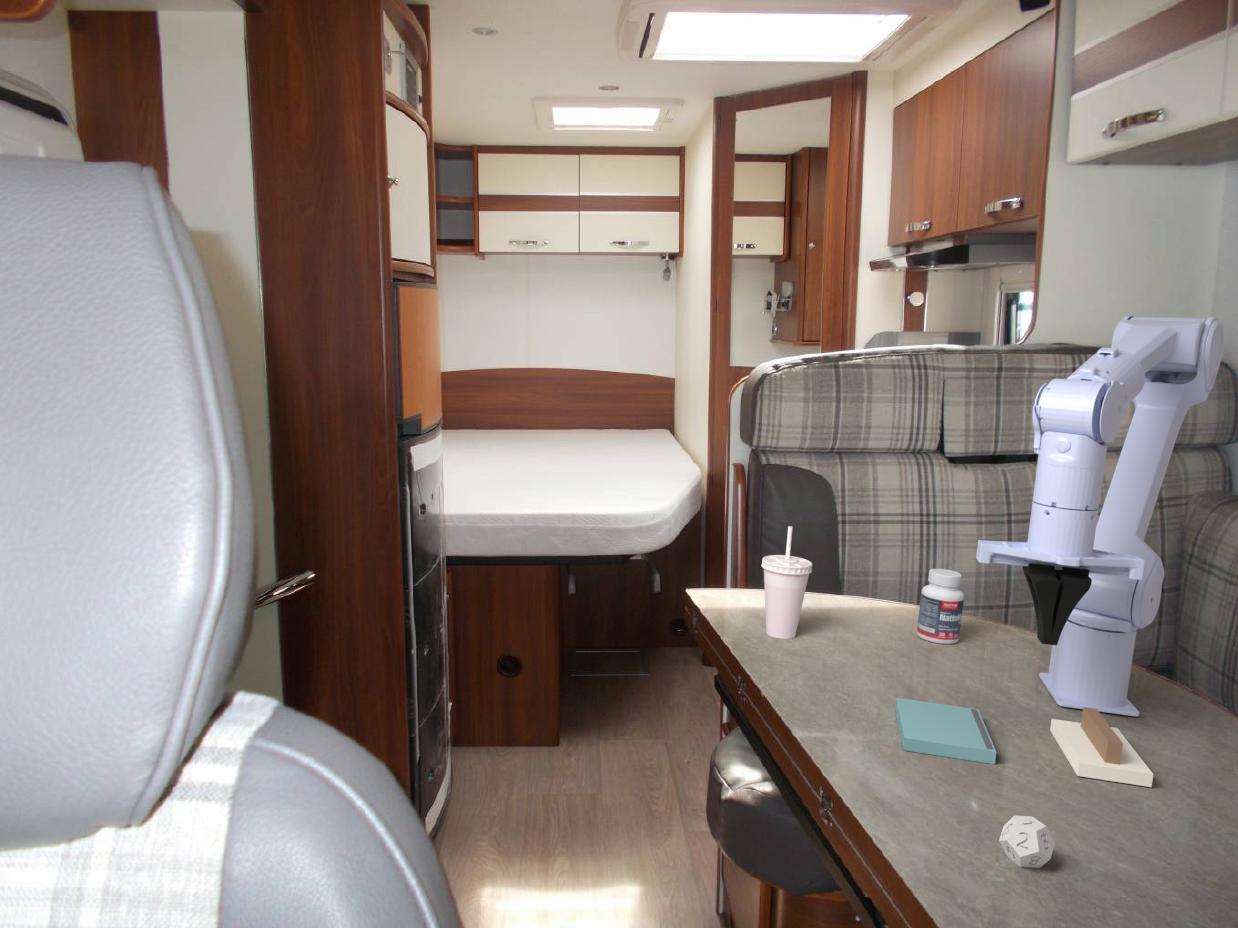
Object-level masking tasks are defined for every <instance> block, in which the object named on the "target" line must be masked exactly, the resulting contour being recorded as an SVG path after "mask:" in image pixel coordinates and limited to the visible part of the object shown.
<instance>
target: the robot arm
mask: <svg viewBox="0 0 1238 928" xmlns="http://www.w3.org/2000/svg"><path fill="white" fill-rule="evenodd" d="M1224 343H1225V329H1224V325H1223V323H1222V322H1221V321H1220V318H1218V317H1216V316H1208V317H1202V318H1201V317H1169V316H1168V317H1167V316H1166V317H1164V316H1161V317H1159V316H1155V317H1154V316H1134V314H1127V315H1125V316H1123V317H1122V318H1121V319H1120V321H1118V323H1117V324H1116V325H1115V328H1114V331H1113V334H1112V340H1111V347H1100V348H1099V349H1098V350H1097V351H1096V352H1095V354H1093V355H1092V356H1091V357H1089V359H1087V360H1086V361H1085V362H1084V363H1082V365H1080V366H1079V367H1078V368H1077V369H1076V370H1075V371H1073V372H1072V373H1071V375H1069V376H1068V377H1066V378H1053V379H1051V380H1050V381H1049V382H1046V383H1043V384H1042V385H1041V387H1040V388H1039V390H1038V392H1037V394H1036V397H1035V400H1034V405H1033V406H1032V425H1033V431H1034V440H1033V452H1034V454H1036V455H1038V456H1037V463H1036V470H1035V471H1036V472H1035V479H1034V486H1033V496H1032V502H1031V503H1032V505H1031V512H1030V519H1029V525H1028V526H1029V527H1028V535H1027V541H1025V542H1024V541H1004V540H1003V541H1002V540H1001V541H1000V540H997V541H995V540H984V539H978V540H977V546H976V553H975V554H976V555H975V559H976V561H977V562H978V563H979V564H988V565H989V564H991V563H992V564H1002V565H1003V564H1004V565H1010V566H1012V565H1013V566H1019V567H1022V572H1023V574H1024V577H1025V579H1026V582H1027V584H1028V588H1029V592H1030V595H1031V598H1032V601H1033V602H1032V603H1033V606H1034V613H1035V618H1036V619H1035V620H1036V632H1037V635H1036V637H1037V639H1038V641H1039V642H1040V644H1042V645H1049V646H1051V651H1050V658H1049V659H1050V660H1049V667H1048V672H1039V674H1038V677H1039V679H1040V680H1041V681H1042V683H1043V685H1044V686H1045V688H1047V690H1048V692H1049V693H1050V695H1051V696H1052V699H1053V700H1054V701H1055V702H1056V703H1055V704H1057V705H1058V706H1060V707H1063V708H1070V709H1071V708H1072V709H1078V710H1083V707H1086V708H1094V709H1097V710H1098V712H1099V713H1108V714H1114V715H1122V716H1129V717H1130V716H1131V717H1139V716H1140V714H1141V713H1140V711H1139V710H1138V709H1137V708H1136V707H1135V705H1134V704H1133V702H1131V701H1130V700H1129V699H1128V691H1129V685H1130V677H1131V673H1132V672H1131V670H1132V666H1133V665H1132V664H1133V656H1134V651H1135V644H1136V636H1137V630H1139V629H1140V630H1142V629H1145V628H1146V627H1147V626H1149V625H1150V624H1152V623H1153V621H1154V620H1155V618H1156V616H1157V614H1158V610H1159V608H1160V602H1161V599H1162V598H1161V597H1162V587H1163V586H1162V585H1163V582H1164V578H1165V569H1164V565H1163V561H1162V559H1161V558H1160V556H1159V555H1158V554H1157V553H1156V552H1155V551H1154V550H1153V549H1152V547H1150V546H1149V545H1148V544H1147V543H1146V542H1145V541H1144V540H1145V538H1146V535H1147V532H1148V530H1149V529H1148V528H1149V525H1150V522H1151V519H1152V516H1153V513H1154V509H1155V506H1156V504H1157V500H1158V497H1159V494H1160V491H1161V487H1162V484H1163V481H1164V479H1165V475H1166V473H1167V469H1168V466H1169V463H1170V459H1171V457H1172V454H1173V450H1174V447H1175V443H1176V441H1177V437H1178V435H1179V432H1180V428H1181V426H1182V425H1183V422H1184V420H1185V417H1186V416H1187V414H1188V411H1189V409H1190V408H1191V407H1193V406H1196V405H1198V404H1201V403H1203V402H1205V401H1207V400H1208V398H1209V396H1210V395H1209V394H1210V392H1211V391H1212V390H1213V388H1214V385H1215V381H1216V378H1217V375H1218V371H1219V368H1220V366H1221V362H1222V359H1223V353H1224V352H1223V351H1224ZM1131 402H1132V403H1133V405H1134V409H1135V410H1134V412H1133V416H1132V419H1131V422H1130V424H1129V427H1128V430H1127V434H1126V436H1125V440H1124V442H1123V445H1122V448H1121V452H1120V455H1119V456H1118V459H1117V460H1118V461H1117V463H1116V466H1115V469H1114V473H1113V476H1112V478H1111V480H1110V481H1111V482H1110V484H1109V487H1108V490H1107V493H1106V497H1105V498H1104V502H1103V505H1102V509H1101V511H1100V514H1099V510H1100V503H1101V495H1102V494H1101V493H1102V488H1103V480H1104V473H1105V465H1106V459H1107V458H1106V457H1107V453H1108V452H1107V451H1108V445H1109V444H1110V443H1111V442H1114V441H1115V439H1116V437H1117V435H1118V432H1119V431H1120V427H1121V423H1122V421H1123V420H1124V419H1125V416H1126V411H1127V410H1126V407H1128V405H1130V403H1131Z"/></svg>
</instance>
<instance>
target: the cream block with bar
mask: <svg viewBox="0 0 1238 928" xmlns="http://www.w3.org/2000/svg"><path fill="white" fill-rule="evenodd" d="M1119 729H1120V728H1118V727H1113V726H1110V724H1109V723H1108V722H1107V720H1105V718H1104V717H1103V715H1102V714H1101V712H1099V711H1098V710H1097V709H1094V708H1086V707H1083V709H1082V712H1081V720H1080V722H1077V721H1070V720H1064V719H1056V718H1051V721H1050V728H1049V731H1050V733H1051V734H1052V736H1053V738H1054V739H1055V741H1056V742H1057V744H1058V746H1059V747H1060V749H1061V751H1062V753H1063V755H1064V756H1065V757H1066V759H1067V761H1068V763H1069V764H1070V766H1071V767H1072V769H1073V771H1074V773H1075V774H1076V776H1078V777H1082V778H1088V779H1089V778H1090V779H1094V780H1096V779H1097V780H1102V781H1109V782H1114V783H1120V784H1121V783H1122V784H1129V785H1134V786H1135V785H1136V786H1141V787H1148V788H1152V786H1153V782H1154V781H1153V779H1154V773H1153V772H1152V770H1151V769H1150V768H1149V767H1148V765H1147V764H1146V763H1145V762H1144V759H1142V757H1140V755H1139V754H1138V752H1137V751H1136V750H1135V748H1134V747H1133V746H1132V745H1131V744H1130V742H1129V741H1128V740H1127V738H1126V737H1125V735H1123V734H1122V732H1121V731H1120V730H1119Z"/></svg>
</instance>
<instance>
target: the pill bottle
mask: <svg viewBox="0 0 1238 928" xmlns="http://www.w3.org/2000/svg"><path fill="white" fill-rule="evenodd" d="M962 578H963V577H962V574H961V573H960V572H958V571H955V570H951V569H947V568H931V569H929V571H928V579H927V580H928V582H929V584H927V585H925V586H923V588H922V589H921V593H920V601H919V607H918V608H919V609H918V618H917V627H916V635H917V636H918V637H919V638H920V639H922V640H924V641H927V642H929V643H935V644H942V645H953V644H956V643H958V642H959V640H960V634H961V626H962V617H963V616H962V615H963V610H964V609H963V608H964V602H965V596H964V595H965V594H964V592H962V590H960V589H959V587H960V586H961V584H962Z"/></svg>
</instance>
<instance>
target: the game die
mask: <svg viewBox="0 0 1238 928" xmlns="http://www.w3.org/2000/svg"><path fill="white" fill-rule="evenodd" d="M998 841H999V843H1000V845H1001V848H1002V850H1003V851H1004V854H1005V855H1006V857H1007V858H1008V859H1009V860H1011V861H1012V862H1013V863H1015V864H1016V865H1017V866H1018V867H1020V868H1031V869H1032V868H1033V869H1040V868H1042V867H1043V866H1044V865H1046V864H1047V863H1048V862H1049V861H1050V860H1051V859H1052V855H1053V852H1054V848H1055V844H1056V842H1055V840H1054V838H1053V837H1052V834H1051V833H1050V831H1049V829H1048V826H1047V825H1045V824H1044V823H1043V822H1041V821H1040V820H1038V819H1037V818H1035V817H1034V816H1030V815H1029V816H1028V815H1013V816H1012V817H1011V818H1010V819H1009V820H1008V821H1007V822H1006V823H1005V824H1004V825H1003V826H1002V830H1001V833H1000V836H999V840H998Z"/></svg>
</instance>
